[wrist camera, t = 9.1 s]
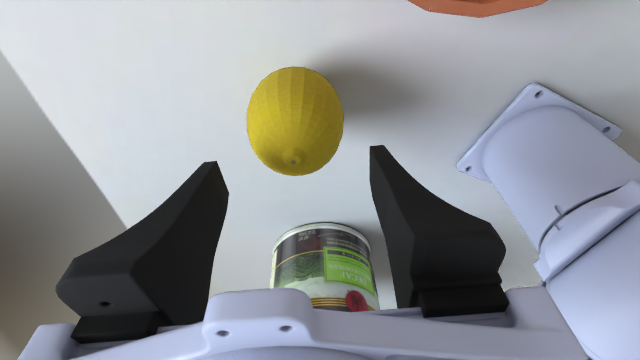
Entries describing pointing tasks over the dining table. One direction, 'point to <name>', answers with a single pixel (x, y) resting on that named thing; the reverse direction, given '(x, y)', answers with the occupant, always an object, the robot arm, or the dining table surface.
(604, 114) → the dining table surface
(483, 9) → the bowl
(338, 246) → the coffee can
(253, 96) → the lemon
